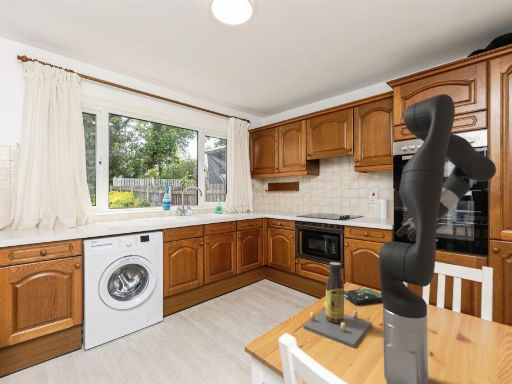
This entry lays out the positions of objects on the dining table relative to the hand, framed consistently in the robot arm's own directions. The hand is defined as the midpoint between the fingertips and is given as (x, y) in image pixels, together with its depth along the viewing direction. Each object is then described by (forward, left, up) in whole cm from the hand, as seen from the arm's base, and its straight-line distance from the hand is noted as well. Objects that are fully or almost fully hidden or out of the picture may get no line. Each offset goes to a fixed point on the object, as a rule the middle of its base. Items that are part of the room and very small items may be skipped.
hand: (403, 237), depth 87 cm
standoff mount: (-15, +17, -30) cm, 38 cm away
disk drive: (+14, +18, -31) cm, 39 cm away
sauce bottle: (-13, +19, -30) cm, 38 cm away
